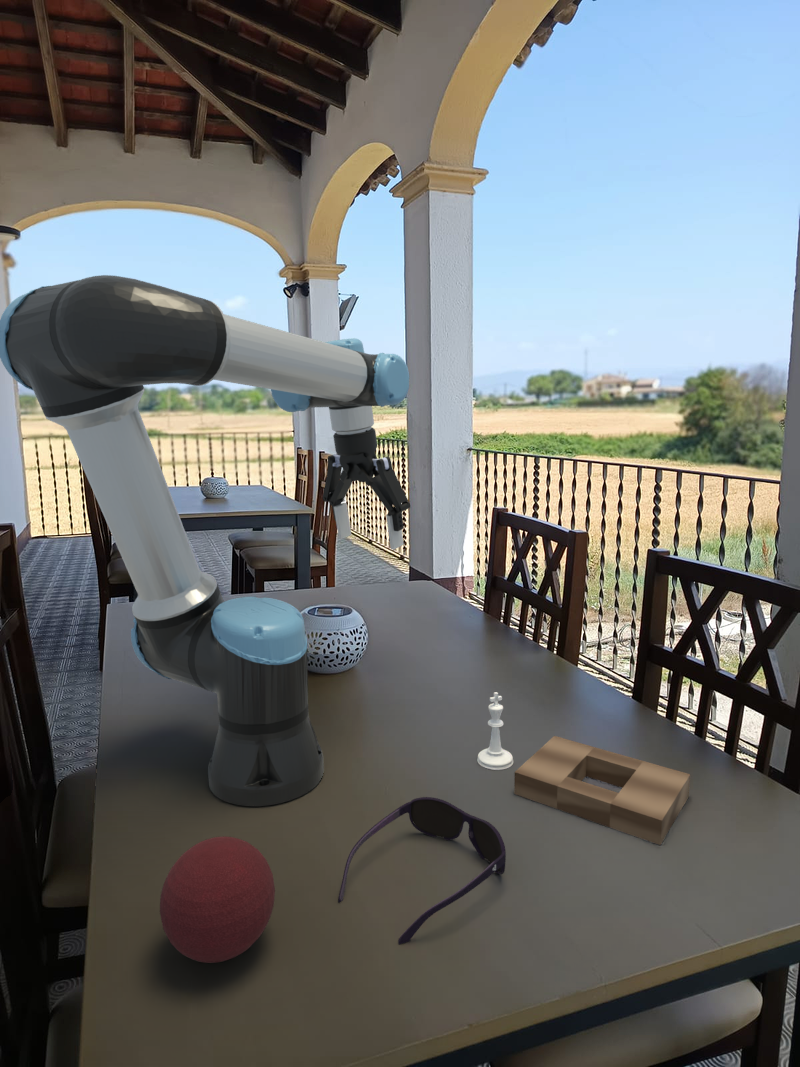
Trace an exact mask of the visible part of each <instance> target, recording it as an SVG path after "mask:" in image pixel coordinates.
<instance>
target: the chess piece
mask: <svg viewBox="0 0 800 1067" xmlns="http://www.w3.org/2000/svg"><path fill="white" fill-rule="evenodd" d="M502 700H503V696H502V695H499V692H497V691H496V692H493V696H492V697H489V702H490V704H489V705H488V706H487V707H488V711H489V714H490V717H491V718H490V719H489V720H488V721H487V726H489V727H491V734H490V741H489V747H487V748H484V749H482V750H481V751H479V752H478V754H477V759H476V760H477V763H478V765H480V767H482V768H485V769H488V770H490V771H491V770H493V771H501V770H502V771H503V770H507V769H510V768H511V767H512V766H513V765H514V759H513V758H514V757H513V755H512V753H511V752H509V750H506V749H504V748H502V743H501V742H502V741H501V733H500V727H504V721H503V720H502V719H501V715H502V712H503V710H504V705H502V704H501V703H499V701H502ZM492 702H493V703H492Z"/></svg>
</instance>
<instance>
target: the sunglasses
mask: <svg viewBox="0 0 800 1067" xmlns="http://www.w3.org/2000/svg"><path fill="white" fill-rule="evenodd" d="M405 814H408V817H409V820H410V823H411V825H412V827H414V829H416V830H417V831H419V832H421V833H422V834H424V835H426V836H429V837H433V838H437V837H439V838H443V840H445V841H453V840H455V839H458V838H459V836H460V835H461V833H462V831H463V828H464V824H465V823H467V824H468V832H467V833H468V839H469V841H470V843H471V845H472V846H473V848H474V850H475V851H476V853H478V856H480V858H481V859H482V860H486V861H488V862H489V863H490V864H489V865H488V866H487V867H486V868H485V869H484V870H483V871H482V872H480V873H479V874H478V875H477V876H475V877H474V878H473V879H472V880H470V881H469V882H468V883H467V884H465V885H464V886H462V887H461V888H460V889H459V890H457V891H456V892H454V893H453V894H451V895H449V896H448V897H446V898H444V899H442V900H440V901H439V902H438V903H436V904H434V905H432V906H431V907H430V908H428V909H427V910H426V911H424V912H423V913H422V914H421V915H420V916H418V917H417V919H415V920H414V922H413V923H411V924H410V926H408V928H406V929H405V930H404V932H403V933H402V934H400V937H399V938H398V940H397V944H398V945H402V944H406V943H409V942H410V940H412V938H413V936H414V935H415V934H416V933H417V931H418V930H420V928H421V927H422V925H423V924H424V923H425V922H426V921H427V920H429V919H430V917H432V916H433V915H434V914H435V913H437V912H439V911H441V910H442V909H444V908H445V907H448V906H449V905H451V904H452V903H455V902H456V901H458V900H460V898H462V897H464V896H465V895H467V894H468V893H470V892H471V891H472V890H473V889H475V888H476V887H478V886H479V885H480V884H482V883H483V882H484V881H486V880H487V879H488V878H489V877H490V876H492V875H493V874H494V873H496V874H497V875H503V874H505V871H506V870H505V869H506V858H507V857H506V856H507V854H506V853H507V852H506V845H505V843H504V840H503V837H502V835H501V833H500V832H499V831H498V830H499V829H497V828H496V826H494V825H493V824H492V823H491V822H489V821H487V820H484V819H482V818H480V817H477V816H475V815H472V814H470V813H468V812H465V811H464V810H463V809H462V808H459V807H457V806H456V805H454V804H452V803H451V802H448V801H447V800H444V799H440V798H438V797H432V796H431V797H429V796H423V797H421V796H420V797H416V798H414V799H412V800H410V801H408V802H406V803H404V804H402V805H400V806H399V807H398V808H396V809H395V810H393V811H392V812H390V813H389V814H388V815H386V816H385V817H384V818H382V819H381V820H380V821H378V822H377V823H376V824H374V825H373V826H371V827H370V829H368V831H366V832H365V833H364V834H363V835H362V836H361V837H360V838H359V839H358V841H356V843H355V845H354V846H353V847H352V849H351V850H350V852H349V854H348V857H347V859H346V862H345V865H344V871H343V876H342V880H341V884H340V890H339V894H338V897H337V902H338V903H339V902H341V901H342V902H343V900H344V898H343V897H345V892H346V891H345V890H346V884H347V878H348V873H349V869H350V865H351V862H352V860H353V858H354V856H355V855H356V853H357V852H358V850H359V848H361V847H362V845H363V844H364V843H365V842H366V841H367V840H369V839H370V838H371V837H372V836H374V835H375V834H376V833H378V832H379V831H380V830H382V829H383V828H385V827H386V826H388V825H389V824H390V823H392V822H394V821H395V820H396V819H398V818H400V817H401V816H404V815H405ZM342 899H343V900H342ZM342 902H341V903H342Z"/></svg>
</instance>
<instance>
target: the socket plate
mask: <svg viewBox="0 0 800 1067" xmlns="http://www.w3.org/2000/svg"><path fill="white" fill-rule="evenodd" d="M513 777H514V780H513V781H514V786H513V787H514V788H513V789H514V790H513V793H514V795H516V796H519V797H521V798H524V799H527V800H529V801H530V800H531V801H533V802H535V803H538V804H542V805H544V806H548V807H550V808H553V809H556V810H558V811H559V810H560V811H562V812H564V813H567V814H570V815H574V816H576V817H579V818H581V819H585V820H588V821H590V822H592V823H597V824H599V825H602V826H604V827H608V828H611V829H613V830H615V831H618V832H621V833H624V834H626V835H630V836H632V837H633V836H634V837H636V838H639V839H642V840H645V841H647V842H650V843H653V844H655V845H659V846H661V845H662V843H663V842H664V840H665V838H666V836H667V835H668V833H669V831H670V830H671V828H672V827H673V825H674V823H675V822H676V820H677V817H678V816H679V814H680V812H681V811H682V809H683V807H684V806H685V804H686V802H687V801H688V798H690V786H691V784H690V783H691V774H690V773H687V772H684V771H681V770H680V771H679V770H677V769H674V768H673V769H672V768H669V767H666V766H662V765H658V764H655V763H653V762H648V761H645V760H641V759H638V758H634V757H631V756H627V755H623V754H621V753H616V752H613V751H610V750H605V749H604V748H599V747H595V746H593V745H588V744H585V743H581V742H578V741H574V740H571V739H567V738H564V737H561V736H557V735H554V736H552V737H551V738H550V739H549V740H548V741H547V742H546V743H545V744H544V745H542V747H540V748H539V749H538V750H537V751H536V752H535V753H534V754H533V755H532V756H530V757H529V758H528V759H527V760H526V761H525V762H524V763H523V764H522V765H521V766H519V767H518V768H517V769H516V770H515V771H514V776H513ZM585 778H589V779H593V780H597V781H599V782H603V783H606V784H609V785H613V786H615V787H619V788H621V789H620V791H619V792H617V791H613V790H612V789H611V790H610V789H607V788H604V787H602V786H598V785H595V784H592V783H588V782H585V781H583V780H585Z"/></svg>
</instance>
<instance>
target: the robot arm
mask: <svg viewBox="0 0 800 1067" xmlns="http://www.w3.org/2000/svg"><path fill="white" fill-rule="evenodd" d="M223 312H224V311H222V308H220V307H219V305H218V304H216V303H215V302H213V301H212V300H208V299H205V298H202V297H200V296H196V295H193V294H188V293H185V292H181V291H179V290H177V289H176V290H175V289H173V288H169V287H165V286H163V285H158V284H155V283H151V282H147V281H143V280H141V279H136V278H131V277H125V276H119V275H118V276H117V275H110V274H109V275H108V274H103V275H93V276H88V277H85V278H82V279H78V280H74V281H68V282H64V283H57V284H54V285H48V286H47V285H46V286H40V287H38V288H35V289H31V290H30V291H29V292H27V293H26V292H25V293H24V294H22V295H19V296H18V297H16V298H15V299H14V300H12V301H11V302H10V303H9V304H8V305H7V307H6V308H5V309H4V311H3V312H2V314H1V317H0V361H1V363H2V364H3V367H4V369H5V370H6V371H7V372H8V374H9V375H10V376H11V377H12V378H13V379H14V381H16V382H17V383H19V384H20V385H22V386H23V387H25V388H26V389H28V390H31V391H33V392H34V395H35V397H36V399H37V401H38V403H39V404H38V405H39V406H40V408H41V410H42V413H43V414H44V417H45V419H46V420H48V421H50V422H52V423H55V424H57V425H59V426H61V427H63V428H64V429H65V430H66V433H67V435H68V437H69V440H70V441H71V444H72V446H73V448H74V451H75V453H76V455H77V458H78V460H79V462H80V464H81V467H82V469H83V471H84V472H83V473H85V476H86V478H87V481H88V483H89V485H90V487H91V489H92V492H93V494H94V497H95V499H96V501H97V503H98V505H99V508H100V511H101V512H102V515H103V517H104V519H105V522H106V524H107V526H108V529H109V531H110V533H111V536H112V538H113V540H114V542H115V544H116V547H117V550H118V552H119V555H120V557H121V558H122V561H123V563H124V565H125V568H126V571H127V572H128V575H129V577H130V579H131V581H132V584H133V587H134V588H135V590H136V594H137V597H136V598H135V600H134V602H133V604H132V607H131V610H132V612H131V613H132V614H133V620H132V621H133V623H134V625H133V627H132V628H131V629H130V640H131V646H132V649H133V651H134V654H135V656H136V657H137V659H138V660H139V662H141V664H142V665H144V667H146V668H148V669H149V670H150V671H152V672H154V673H156V674H157V675H159V676H161V677H163V678H166V679H168V680H174V681H178V682H180V683H184V684H187V685H189V686H193V687H197V688H200V689H201V690H202V689H203V690H205V691H209V692H211V693H215V694H216V697H217V712H218V731H217V734H216V738H215V743H214V746H213V751H212V756H211V757H210V759H209V762H208V767H207V775H208V786H209V790H210V791H211V792H212V794H213V796H215V797H216V798H218V799H219V800H222V801H224V802H226V803H229V804H232V805H236V806H244V807H245V806H246V807H262V806H263V807H264V806H265V807H267V806H273V805H277V804H282V803H286V802H290V801H293V800H295V799H298V798H300V797H302V796H304V795H306V794H307V793H309V792H310V791H312V790H313V789H314V788H316V786H318V785H319V783H320V782H321V781H320V780H322V779H323V777H324V774H323V773H324V772H325V766H324V765H325V763H324V762H325V761H324V753H323V750H322V747H321V745H320V744H319V740H318V738H317V735H316V732H315V729H314V727H313V725H312V722H311V719H310V715H309V714H310V713H309V685H308V684H309V683H308V682H309V680H308V679H309V678H308V675H309V674H308V637H307V635H306V629H305V628H306V627H305V620H304V617H303V615H302V613H301V612H300V610H299V609H297V607H295V606H293V605H292V604H290V603H289V602H286V601H283V600H280V599H276V598H271V597H265V596H264V597H258V596H257V597H256V596H243V597H236V598H231V599H228V600H224V597H223V596H222V593H221V590H220V587H219V584H218V582H217V580H216V578H215V576H213V575H211V574H210V573H206V572H204V571H201V569H200V567H199V564H198V561H197V559H196V556H195V553H194V551H193V548H192V546H191V544H190V539H189V538H188V535H187V533H186V530H185V528H184V526H183V522H182V520H181V517H180V514H179V512H178V509H177V506H176V505H175V500H174V499H173V496H172V494H171V490H170V488H169V485H168V483H167V480H166V477H165V475H164V473H163V470H162V467H161V465H160V462H159V460H158V457H157V454H156V452H155V450H154V447H153V443H152V442H151V439H150V436H149V433H148V431H147V427H146V426H145V424H144V420H143V418H142V415H141V413H140V411H139V402H140V401H141V399H142V396H143V395H144V393H145V387H144V386H147V385H148V386H149V385H158V384H159V385H160V384H179V385H181V384H183V385H191V386H195V387H196V386H197V387H198V386H199V387H201V386H205V385H207V384H209V383H212V381H219V382H224V383H225V382H226V383H231V384H238V385H243V386H249V387H256V388H262V389H267V390H270V393H271V396H272V399H273V401H274V402H275V404H276V405H277V406H278V407H279V409H281V410H282V411H284V412H287V413H294V412H295V413H296V412H305V411H306V410H308V409H312V408H328V411H329V416H330V417H329V418H330V423H331V424H330V425H331V430H332V431H333V432H334V434H333V442H334V449H335V450H334V451H335V453H334V454H330V455H329V456H327V473H326V478H325V482H324V489H323V493H322V500H323V502H328V503H329V504H330V506H331V508H332V509H331V510H332V513H333V514H332V515H333V519H334V521H335V523H336V531H337V536H338V540H344V539H346V538H348V537H350V536H352V531H351V530H352V529H351V524H350V517H349V516H350V515H349V509H348V504H347V502H345V501H346V500H345V499H346V495H347V493H348V492H349V490H350V488H351V485H352V483H353V482H357V481H358V482H360V483H365V485H367V486H368V487H370V488H371V489H372V491H373V492H374V493H375V494H376V496H377V497H378V500H380V502H381V503H382V505H383V506H384V507H385V509H386V510H387V511H388V513H387V514H385V517H386V525H387V531H388V539H389V545H390V546H389V547H390V550H396V549H398V548H400V547H402V546H404V545H405V544H404V538H403V530H404V527H405V525H404V518H403V512H404V511H406V510H409V509H410V508H411V502H410V501H409V499H408V497H407V495H406V493H405V491H404V489H403V488H402V485H401V482H400V481H399V479H398V477H397V475H396V473H395V471H394V468H393V464H392V460H391V458H390V456H389V455H387V456H384V457H381V458H377V455H376V451H377V448H378V440H377V434H376V433H377V432H376V429H375V428H374V427H373V426H374V425H375V421H374V414H373V407H382V408H383V407H385V406H395V405H396V406H397V405H399V404H400V403H402V402H403V401H404V400H405V399H406V396H407V395H408V392H409V389H410V373H409V367H408V364H407V363H406V361H405V360H404V359H403V358H402V357H401V356H400V355H398V354H396V353H384V352H380V353H378V354H370V353H366V352H365V350H364V343H363V342H362V341H361V339H359V338H355V337H354V338H343V339H337V340H329V341H321V340H318V339H314V338H311V337H307V336H303V335H299V334H296V333H293V332H290V331H285V330H281V329H279V328H276V327H275V328H274V327H272V326H268V325H263V324H261V323H257V322H255V321H254V322H253V321H250V320H246V319H242V318H239V317H235V316H231V315H229V314H228V315H227V314H225V313H223ZM322 776H323V777H322ZM321 778H322V779H321ZM319 781H320V782H319ZM308 791H309V792H308Z"/></svg>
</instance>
